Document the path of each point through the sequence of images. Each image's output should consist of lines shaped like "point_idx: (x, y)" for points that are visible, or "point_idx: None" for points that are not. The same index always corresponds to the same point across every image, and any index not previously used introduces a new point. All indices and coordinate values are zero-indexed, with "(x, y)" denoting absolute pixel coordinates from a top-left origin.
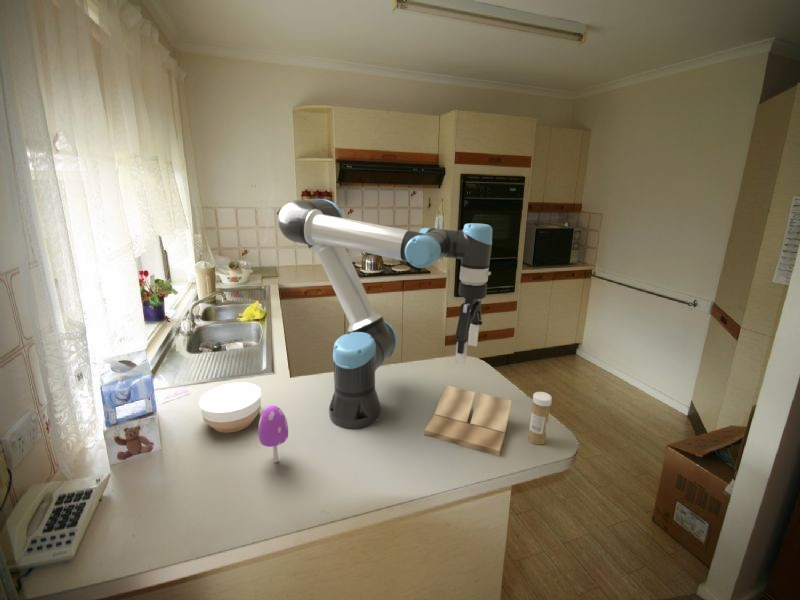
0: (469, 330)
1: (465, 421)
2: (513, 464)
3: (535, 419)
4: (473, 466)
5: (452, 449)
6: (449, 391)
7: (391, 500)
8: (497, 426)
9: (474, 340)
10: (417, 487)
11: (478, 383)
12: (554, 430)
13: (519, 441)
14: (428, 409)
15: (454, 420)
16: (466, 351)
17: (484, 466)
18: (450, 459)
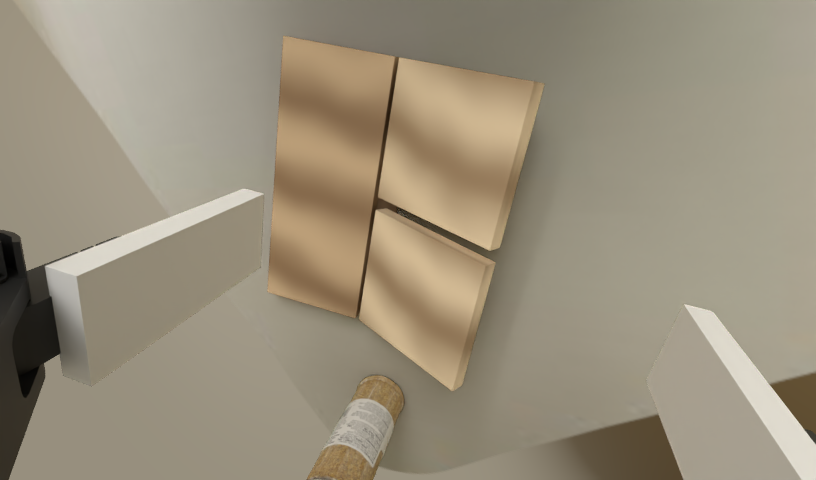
0: (760, 432)
1: (380, 192)
2: (260, 315)
3: (329, 438)
4: None
5: (259, 150)
6: (497, 116)
7: (26, 8)
8: (371, 302)
9: (674, 401)
10: (89, 69)
11: (787, 248)
12: (443, 452)
13: (360, 348)
14: (474, 16)
15: (377, 149)
16: (187, 318)
17: None
18: (216, 148)
